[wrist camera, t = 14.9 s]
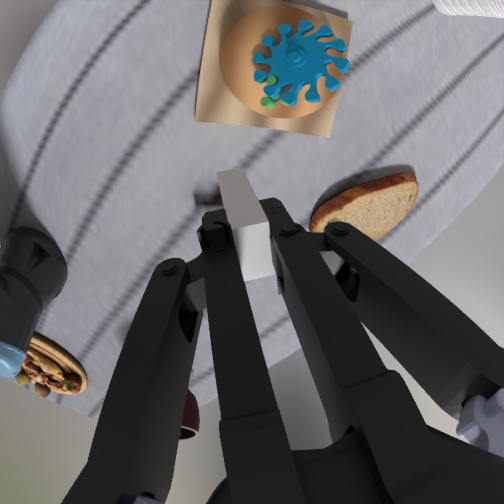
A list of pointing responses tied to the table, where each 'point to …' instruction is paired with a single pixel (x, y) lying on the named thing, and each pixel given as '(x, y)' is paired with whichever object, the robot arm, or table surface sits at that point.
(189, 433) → the mate gourd
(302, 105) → the bread on wooden board
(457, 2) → the water bottle
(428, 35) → the table surface
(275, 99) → the gear
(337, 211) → the slice of bread
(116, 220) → the table surface
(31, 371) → the wooden plate with food
